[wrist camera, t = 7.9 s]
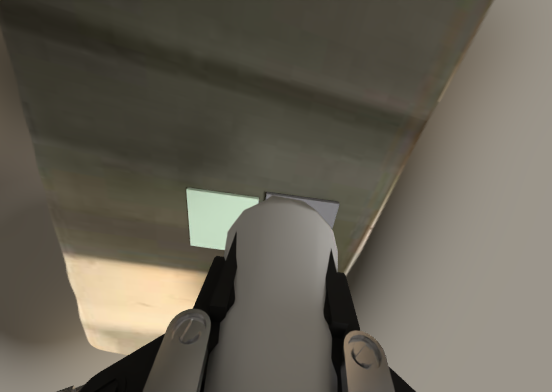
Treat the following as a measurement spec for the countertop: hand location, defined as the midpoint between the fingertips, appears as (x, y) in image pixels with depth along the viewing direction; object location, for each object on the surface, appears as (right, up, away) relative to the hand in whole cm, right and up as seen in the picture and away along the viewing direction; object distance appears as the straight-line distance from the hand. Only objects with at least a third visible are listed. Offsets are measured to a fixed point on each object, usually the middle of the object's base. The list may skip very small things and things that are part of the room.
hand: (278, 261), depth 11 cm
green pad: (-8, -1, +22) cm, 24 cm away
